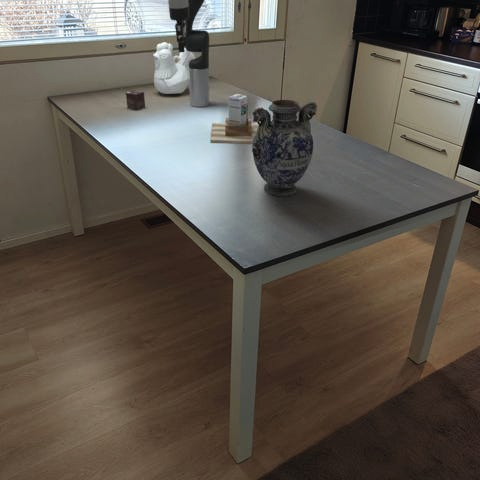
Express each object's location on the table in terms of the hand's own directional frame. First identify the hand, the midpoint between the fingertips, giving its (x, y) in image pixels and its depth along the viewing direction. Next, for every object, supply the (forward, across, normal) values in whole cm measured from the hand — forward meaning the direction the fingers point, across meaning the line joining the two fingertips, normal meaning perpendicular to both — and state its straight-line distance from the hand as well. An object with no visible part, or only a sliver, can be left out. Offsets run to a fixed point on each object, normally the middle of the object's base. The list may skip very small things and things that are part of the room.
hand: (182, 49), depth 210 cm
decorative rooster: (+34, +49, +9) cm, 60 cm away
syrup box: (+30, -14, -21) cm, 39 cm away
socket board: (+31, -14, -21) cm, 40 cm away
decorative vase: (+27, -68, -34) cm, 81 cm away
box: (+31, +21, +26) cm, 46 cm away
